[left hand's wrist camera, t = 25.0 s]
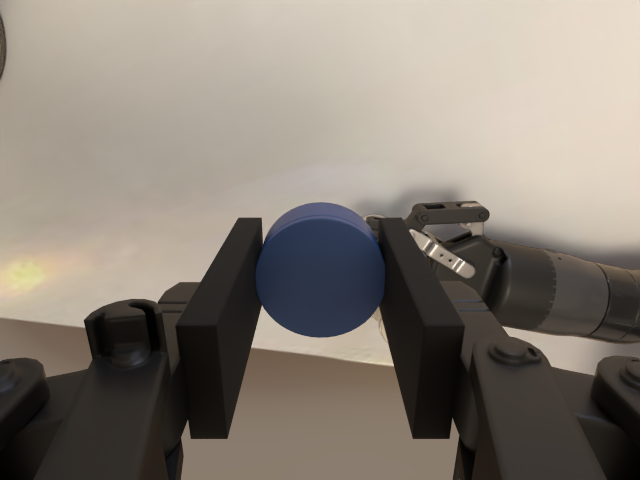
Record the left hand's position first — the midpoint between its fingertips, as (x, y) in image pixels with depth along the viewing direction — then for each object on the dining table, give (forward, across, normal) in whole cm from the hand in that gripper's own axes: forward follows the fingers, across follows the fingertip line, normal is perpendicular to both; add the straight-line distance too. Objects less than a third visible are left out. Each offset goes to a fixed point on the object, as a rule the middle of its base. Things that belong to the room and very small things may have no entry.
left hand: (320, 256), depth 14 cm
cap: (-2, 0, 0) cm, 2 cm away
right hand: (+22, +3, -9) cm, 24 cm away
